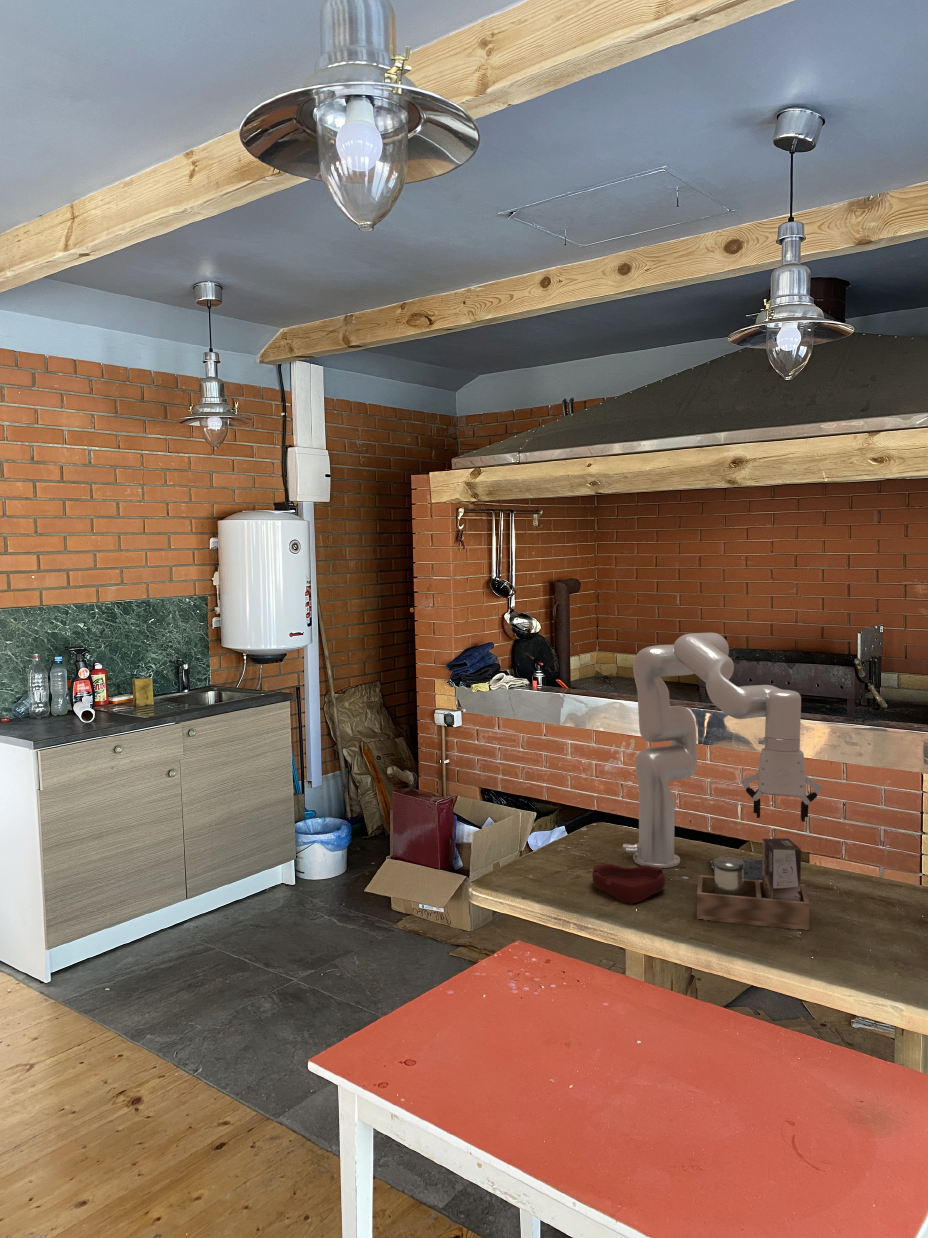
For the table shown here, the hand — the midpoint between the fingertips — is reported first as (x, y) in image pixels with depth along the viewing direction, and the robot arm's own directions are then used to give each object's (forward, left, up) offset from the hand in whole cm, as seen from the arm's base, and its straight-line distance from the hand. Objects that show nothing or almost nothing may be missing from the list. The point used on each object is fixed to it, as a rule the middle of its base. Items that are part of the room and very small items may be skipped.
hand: (780, 818), depth 202 cm
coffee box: (0, 0, -22) cm, 22 cm away
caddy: (-6, 0, -23) cm, 24 cm away
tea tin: (-11, 0, -23) cm, 25 cm away
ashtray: (-35, +6, -23) cm, 42 cm away
